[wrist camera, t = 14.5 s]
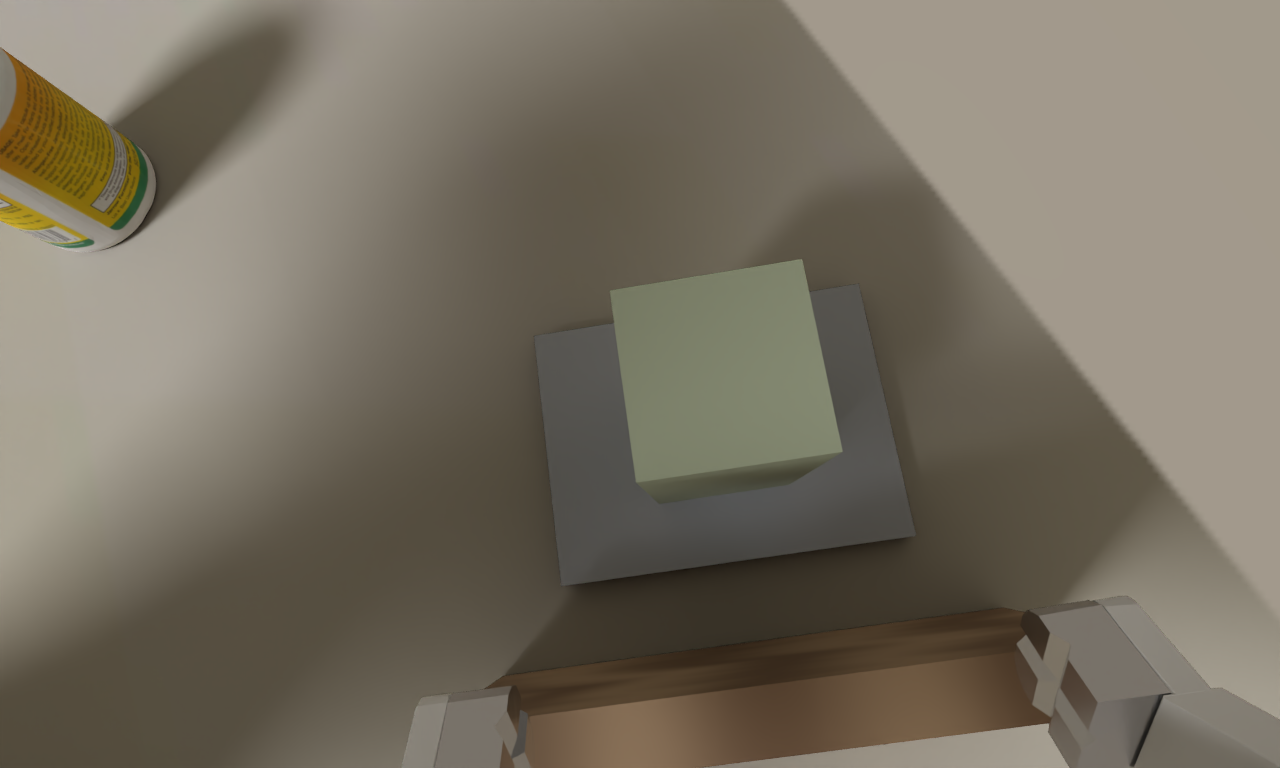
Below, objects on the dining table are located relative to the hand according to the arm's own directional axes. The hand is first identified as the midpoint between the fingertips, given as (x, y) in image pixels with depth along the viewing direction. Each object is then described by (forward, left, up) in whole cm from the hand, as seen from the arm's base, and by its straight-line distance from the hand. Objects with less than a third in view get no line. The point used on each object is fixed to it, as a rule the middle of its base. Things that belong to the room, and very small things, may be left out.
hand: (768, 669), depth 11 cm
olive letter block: (0, +6, -12) cm, 13 cm away
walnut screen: (0, -2, -13) cm, 13 cm away
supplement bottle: (-24, +20, -13) cm, 33 cm away
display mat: (0, +6, -13) cm, 14 cm away
